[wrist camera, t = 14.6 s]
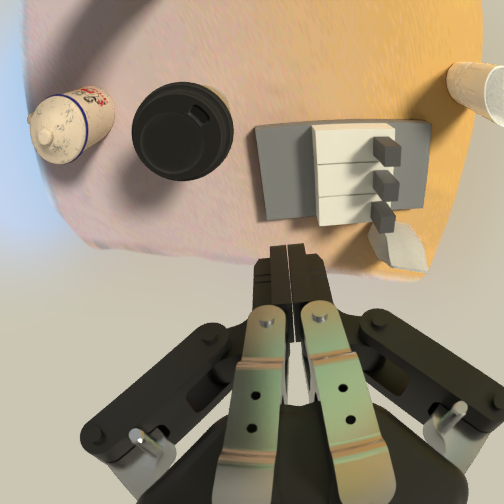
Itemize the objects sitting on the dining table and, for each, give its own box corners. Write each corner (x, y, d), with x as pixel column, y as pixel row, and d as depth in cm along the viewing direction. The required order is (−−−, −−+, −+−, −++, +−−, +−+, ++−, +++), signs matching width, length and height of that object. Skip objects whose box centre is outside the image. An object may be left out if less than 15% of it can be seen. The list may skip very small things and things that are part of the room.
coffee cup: (252, 86, 34) (247, 103, 22) (228, 150, 40) (212, 200, 28) (181, 65, 33) (138, 73, 21) (162, 131, 38) (117, 172, 26)
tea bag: (374, 216, 45) (396, 255, 37) (409, 224, 45) (434, 262, 37) (366, 235, 47) (385, 276, 39) (400, 242, 48) (423, 281, 39)
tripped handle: (373, 170, 35) (384, 183, 32) (387, 169, 35) (399, 182, 32) (372, 187, 36) (382, 202, 33) (386, 187, 36) (398, 201, 33)
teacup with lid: (123, 88, 34) (78, 104, 25) (111, 148, 39) (71, 181, 30) (55, 79, 32) (3, 95, 23) (48, 134, 37) (2, 163, 28)
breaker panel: (255, 126, 38) (253, 145, 30) (424, 120, 35) (459, 140, 28) (266, 213, 45) (267, 250, 38) (417, 201, 43) (444, 234, 35)
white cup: (434, 87, 32) (475, 101, 24) (455, 47, 28) (498, 53, 20) (468, 117, 34) (509, 138, 26) (488, 79, 29) (531, 94, 21)
